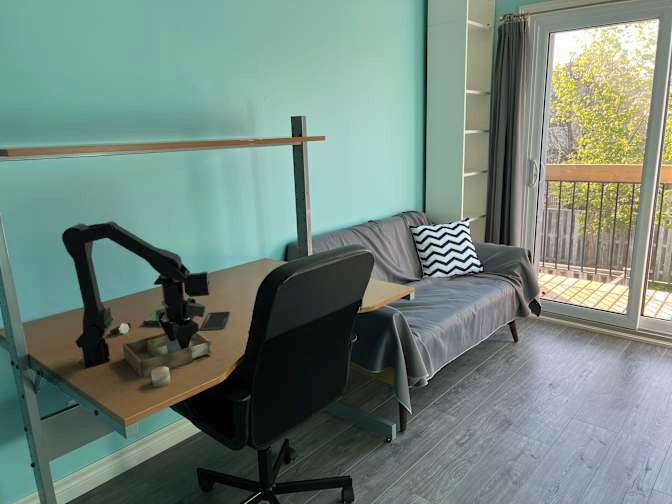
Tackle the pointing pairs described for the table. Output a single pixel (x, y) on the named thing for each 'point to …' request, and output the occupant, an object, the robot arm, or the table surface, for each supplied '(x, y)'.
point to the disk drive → (153, 322)
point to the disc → (175, 346)
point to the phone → (215, 321)
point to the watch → (120, 329)
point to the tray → (198, 348)
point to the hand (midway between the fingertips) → (179, 348)
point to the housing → (146, 362)
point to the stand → (160, 376)
